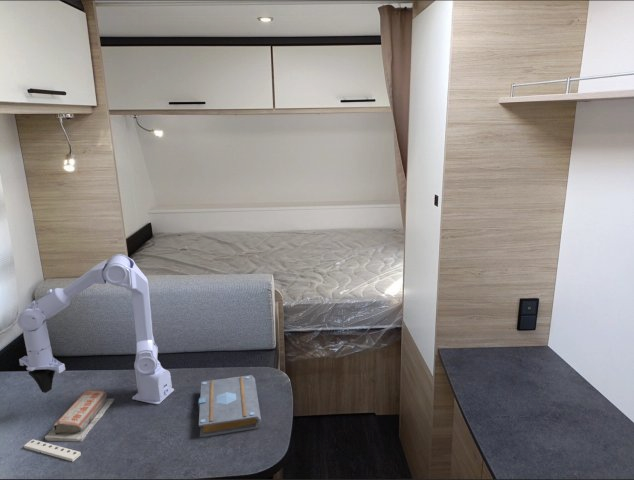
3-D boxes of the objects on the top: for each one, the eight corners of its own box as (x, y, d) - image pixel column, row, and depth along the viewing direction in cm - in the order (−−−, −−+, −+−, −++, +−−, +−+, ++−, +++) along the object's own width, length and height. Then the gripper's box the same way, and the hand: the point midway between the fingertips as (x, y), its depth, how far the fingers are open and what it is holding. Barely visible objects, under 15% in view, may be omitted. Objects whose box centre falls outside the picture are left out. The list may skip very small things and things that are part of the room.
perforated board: (81, 454, 115) (80, 451, 114) (72, 461, 112) (72, 458, 112) (33, 441, 120) (32, 438, 119) (24, 448, 117) (23, 445, 117)
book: (261, 429, 123) (260, 413, 122) (198, 439, 120) (196, 422, 119) (255, 386, 143) (254, 372, 142) (201, 393, 140) (199, 379, 139)
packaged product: (79, 387, 136) (112, 387, 136) (82, 401, 137) (114, 402, 137) (41, 426, 119) (79, 427, 118) (45, 442, 120) (82, 443, 119)
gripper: (5, 350, 125) (15, 394, 128) (46, 357, 120) (54, 403, 124) (28, 338, 131) (37, 380, 135) (68, 345, 127) (75, 388, 130)
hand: (47, 390), depth 130 cm, fingers closed
